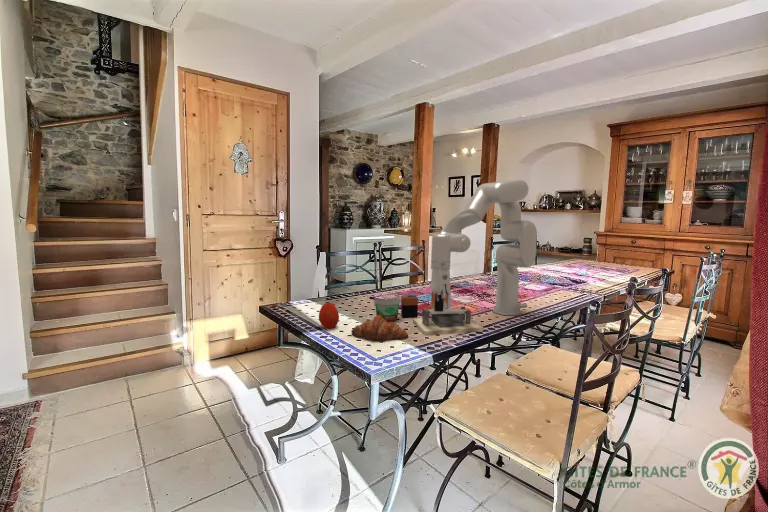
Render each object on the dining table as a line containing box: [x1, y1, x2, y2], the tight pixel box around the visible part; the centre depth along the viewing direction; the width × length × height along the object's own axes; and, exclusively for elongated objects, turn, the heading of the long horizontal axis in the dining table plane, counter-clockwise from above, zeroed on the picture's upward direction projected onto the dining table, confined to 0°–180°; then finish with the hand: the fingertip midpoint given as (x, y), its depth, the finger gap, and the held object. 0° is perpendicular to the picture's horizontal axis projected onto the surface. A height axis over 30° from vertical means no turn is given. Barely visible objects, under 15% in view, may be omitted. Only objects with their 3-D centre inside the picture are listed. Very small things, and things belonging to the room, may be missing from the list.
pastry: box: [350, 315, 409, 342], centre depth 139 cm, size 17×15×8 cm
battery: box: [400, 293, 419, 319], centre depth 164 cm, size 4×7×10 cm, turn 98°
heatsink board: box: [412, 306, 485, 336], centre depth 150 cm, size 24×16×8 cm, turn 102°
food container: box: [373, 295, 401, 323], centre depth 157 cm, size 12×6×10 cm, turn 118°
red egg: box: [318, 301, 340, 330], centre depth 148 cm, size 8×8×11 cm
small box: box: [430, 289, 452, 309], centre depth 170 cm, size 8×6×10 cm
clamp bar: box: [426, 308, 467, 315], centre depth 149 cm, size 17×4×1 cm, turn 102°
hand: (438, 310), depth 148 cm, fingers closed
